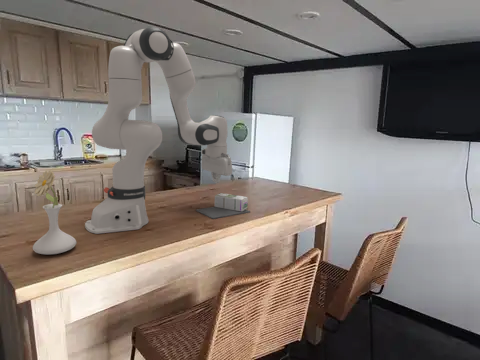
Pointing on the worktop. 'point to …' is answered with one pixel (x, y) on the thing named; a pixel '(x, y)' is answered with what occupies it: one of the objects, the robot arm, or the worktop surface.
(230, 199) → the syrup box
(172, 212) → the worktop surface
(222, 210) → the rubber mat
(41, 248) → the flower in vase
